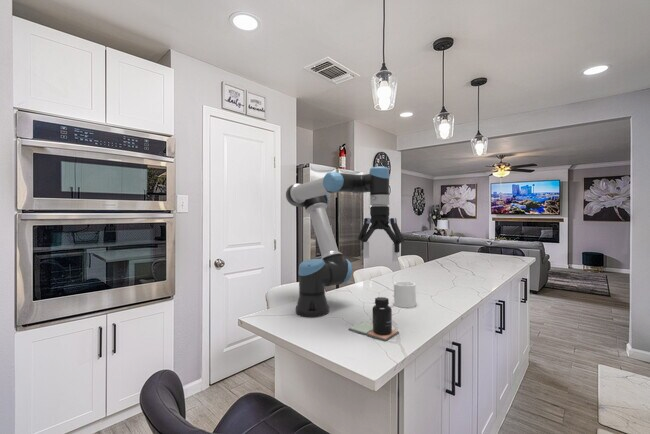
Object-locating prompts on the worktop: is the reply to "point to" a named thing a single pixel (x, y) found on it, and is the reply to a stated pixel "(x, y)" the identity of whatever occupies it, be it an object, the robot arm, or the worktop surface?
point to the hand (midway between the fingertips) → (380, 259)
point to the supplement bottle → (382, 316)
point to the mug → (404, 294)
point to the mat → (371, 331)
